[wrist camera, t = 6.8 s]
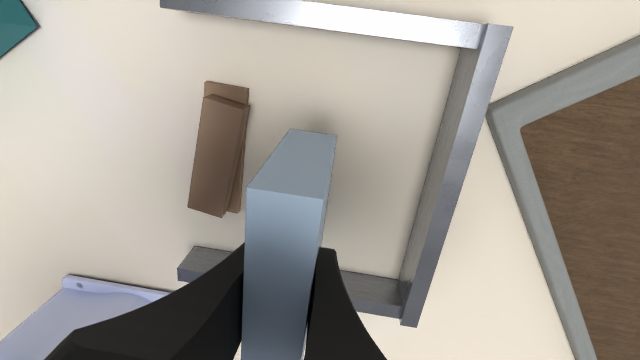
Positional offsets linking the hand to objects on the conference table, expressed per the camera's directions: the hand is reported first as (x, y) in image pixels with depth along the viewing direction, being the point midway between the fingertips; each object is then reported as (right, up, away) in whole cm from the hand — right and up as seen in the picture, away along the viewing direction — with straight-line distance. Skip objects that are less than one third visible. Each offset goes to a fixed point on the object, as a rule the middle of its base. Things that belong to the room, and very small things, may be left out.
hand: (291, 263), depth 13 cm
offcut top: (-5, +5, +7) cm, 10 cm away
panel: (0, +1, +3) cm, 3 cm away
